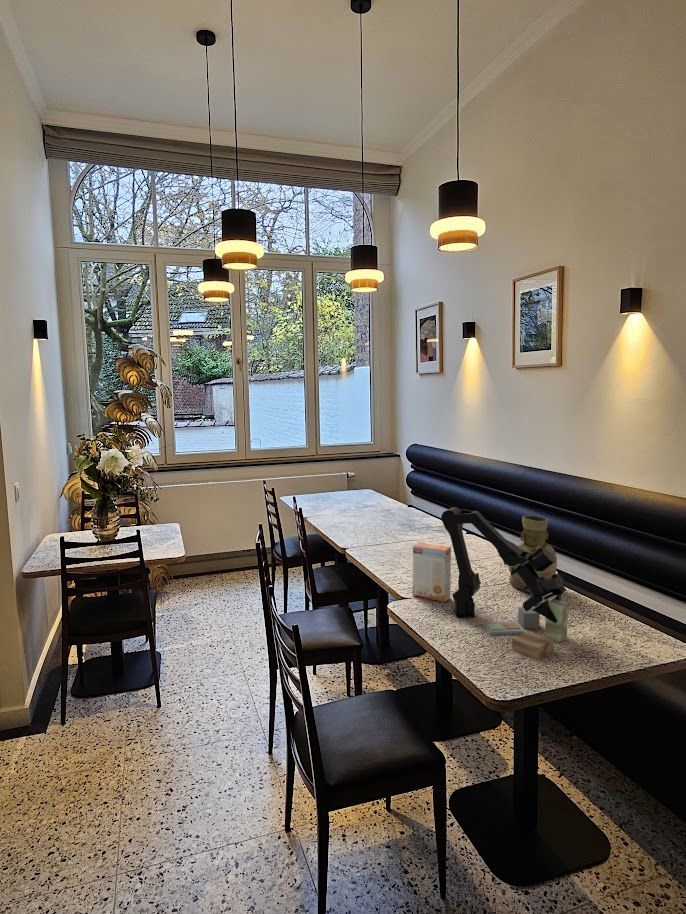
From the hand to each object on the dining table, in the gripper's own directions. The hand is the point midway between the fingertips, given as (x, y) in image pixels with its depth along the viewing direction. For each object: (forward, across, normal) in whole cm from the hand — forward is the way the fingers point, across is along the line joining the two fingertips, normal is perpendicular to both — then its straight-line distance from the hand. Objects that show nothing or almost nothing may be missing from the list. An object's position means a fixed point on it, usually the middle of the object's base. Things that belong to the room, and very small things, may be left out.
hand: (560, 620), depth 192 cm
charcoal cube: (-5, +3, +14) cm, 15 cm away
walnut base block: (+4, -14, +6) cm, 15 cm away
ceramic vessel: (-18, +36, +28) cm, 49 cm away
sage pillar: (+4, 0, +6) cm, 7 cm away
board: (-7, -7, +17) cm, 19 cm away
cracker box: (-33, -2, +42) cm, 54 cm away
